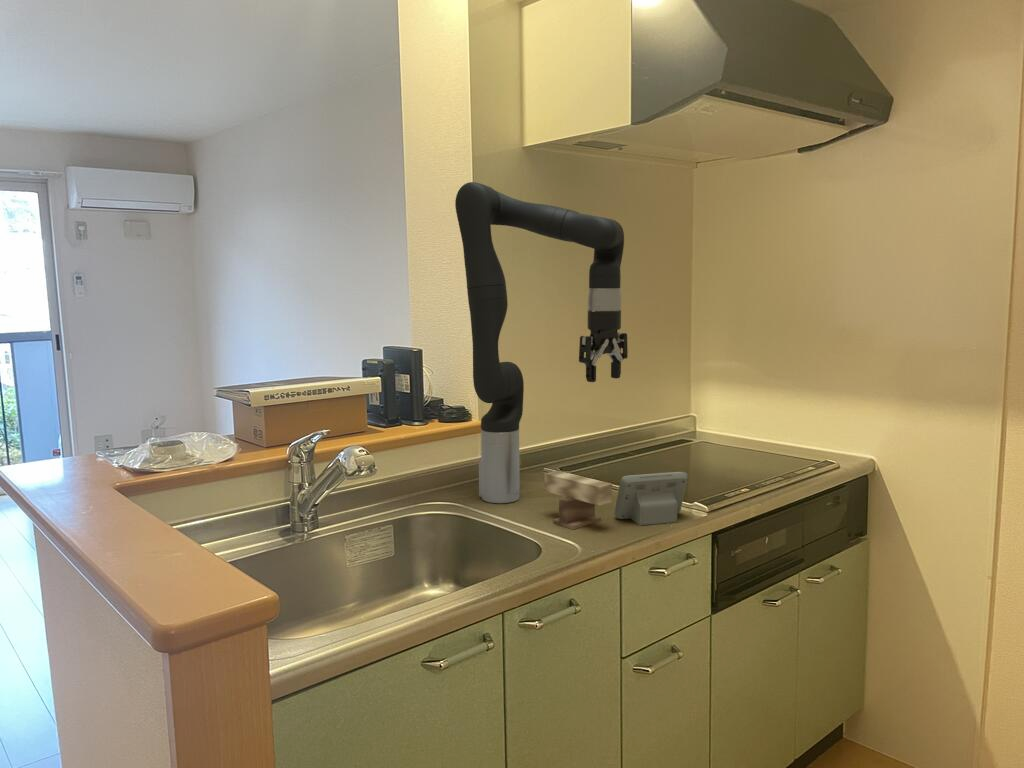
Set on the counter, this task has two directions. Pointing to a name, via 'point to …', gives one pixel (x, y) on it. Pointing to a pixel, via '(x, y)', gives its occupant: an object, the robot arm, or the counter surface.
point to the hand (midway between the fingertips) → (603, 379)
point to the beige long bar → (578, 487)
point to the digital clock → (651, 497)
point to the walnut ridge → (575, 513)
